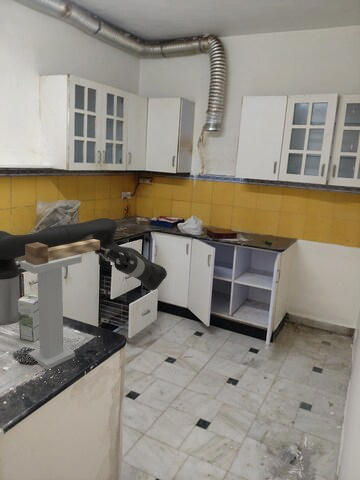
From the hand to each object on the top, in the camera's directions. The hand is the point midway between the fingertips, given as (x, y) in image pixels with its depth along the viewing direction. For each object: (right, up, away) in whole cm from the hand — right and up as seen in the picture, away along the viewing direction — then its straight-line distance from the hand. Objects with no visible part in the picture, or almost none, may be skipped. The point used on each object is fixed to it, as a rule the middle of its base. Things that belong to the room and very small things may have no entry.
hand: (100, 249), depth 126 cm
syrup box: (-25, -30, +4) cm, 39 cm away
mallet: (-9, -2, -10) cm, 13 cm away
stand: (-14, -34, -7) cm, 37 cm away
